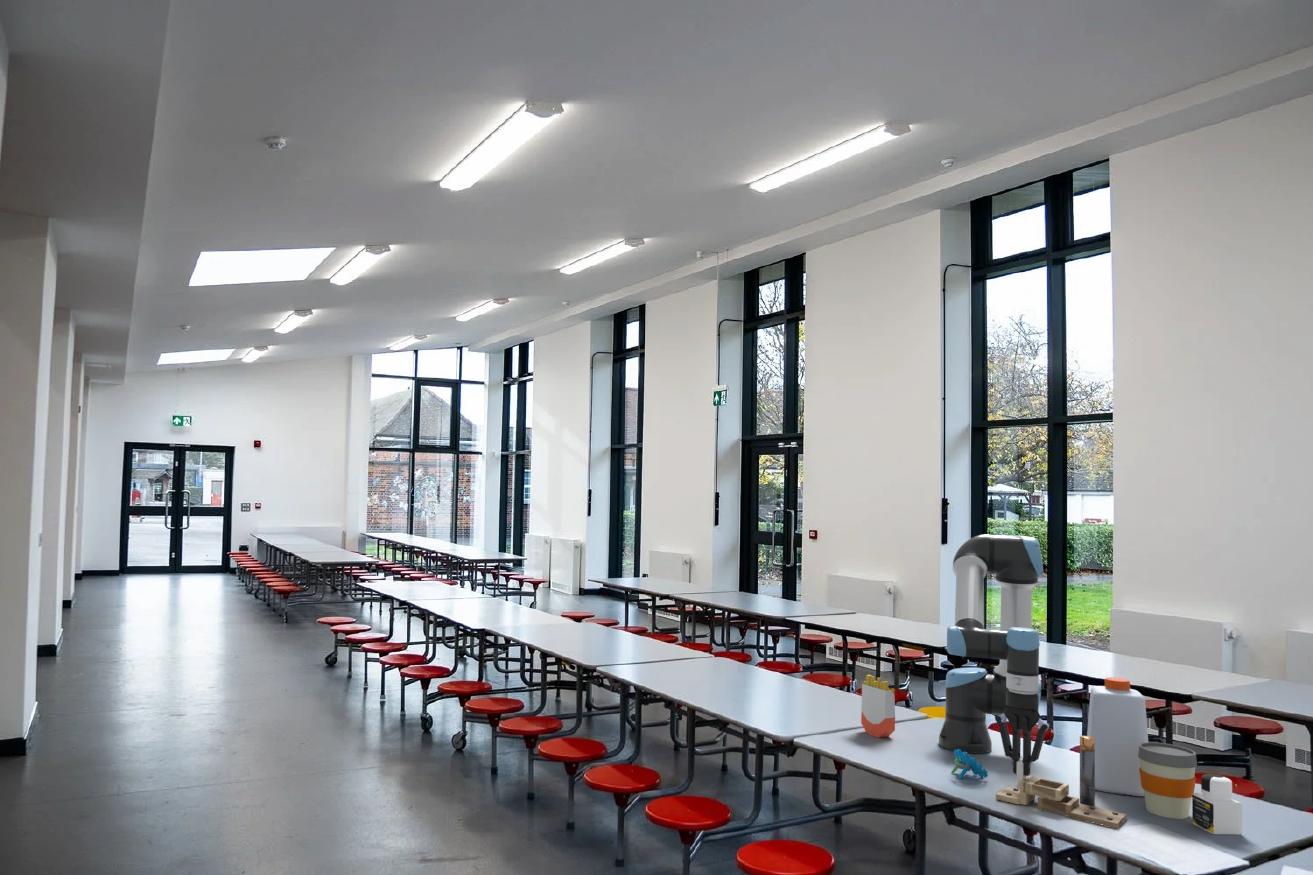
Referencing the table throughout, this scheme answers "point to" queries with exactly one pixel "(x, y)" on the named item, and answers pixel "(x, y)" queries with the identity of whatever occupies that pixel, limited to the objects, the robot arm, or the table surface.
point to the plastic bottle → (1117, 736)
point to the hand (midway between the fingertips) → (1021, 787)
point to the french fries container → (877, 707)
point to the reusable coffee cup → (1167, 778)
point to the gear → (967, 764)
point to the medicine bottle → (1216, 806)
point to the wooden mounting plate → (1082, 811)
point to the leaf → (1034, 791)
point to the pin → (1087, 770)
